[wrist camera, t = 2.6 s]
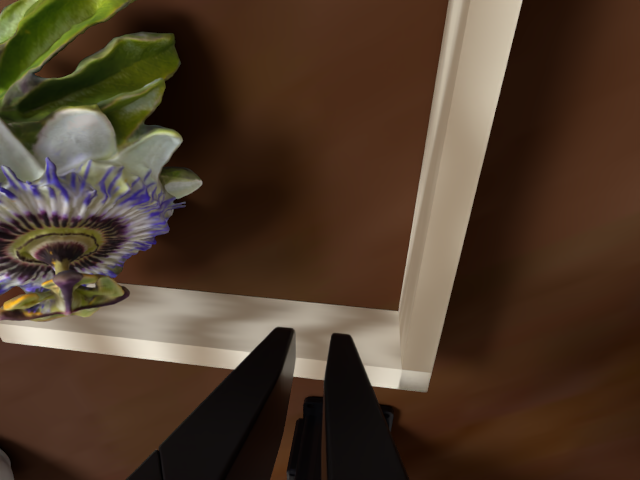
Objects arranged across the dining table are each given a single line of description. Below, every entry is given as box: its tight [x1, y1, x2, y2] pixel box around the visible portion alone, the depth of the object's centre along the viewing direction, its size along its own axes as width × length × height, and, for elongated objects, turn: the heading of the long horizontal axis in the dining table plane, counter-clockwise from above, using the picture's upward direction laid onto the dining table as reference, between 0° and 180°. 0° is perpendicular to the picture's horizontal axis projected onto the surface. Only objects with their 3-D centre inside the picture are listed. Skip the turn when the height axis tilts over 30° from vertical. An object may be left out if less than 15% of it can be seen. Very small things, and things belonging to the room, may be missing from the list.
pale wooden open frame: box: [0, 0, 522, 392], centre depth 18 cm, size 24×23×4 cm
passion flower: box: [0, 0, 202, 322], centre depth 17 cm, size 13×12×14 cm
